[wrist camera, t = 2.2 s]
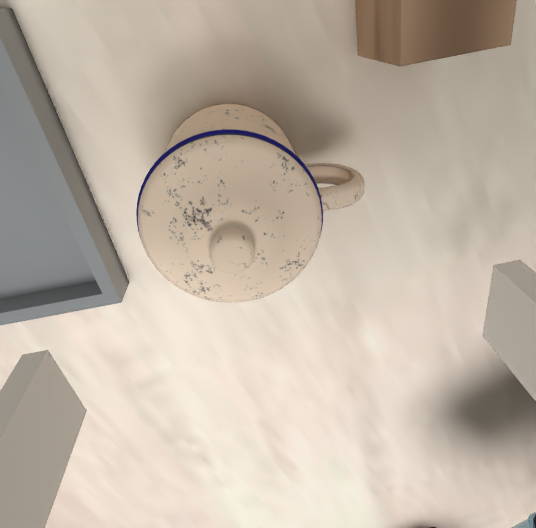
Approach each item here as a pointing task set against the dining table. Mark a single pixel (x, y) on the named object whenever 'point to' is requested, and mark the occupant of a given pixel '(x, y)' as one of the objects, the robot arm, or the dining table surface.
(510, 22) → the walnut block
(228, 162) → the teacup with lid
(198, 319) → the dining table surface
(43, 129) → the tray
